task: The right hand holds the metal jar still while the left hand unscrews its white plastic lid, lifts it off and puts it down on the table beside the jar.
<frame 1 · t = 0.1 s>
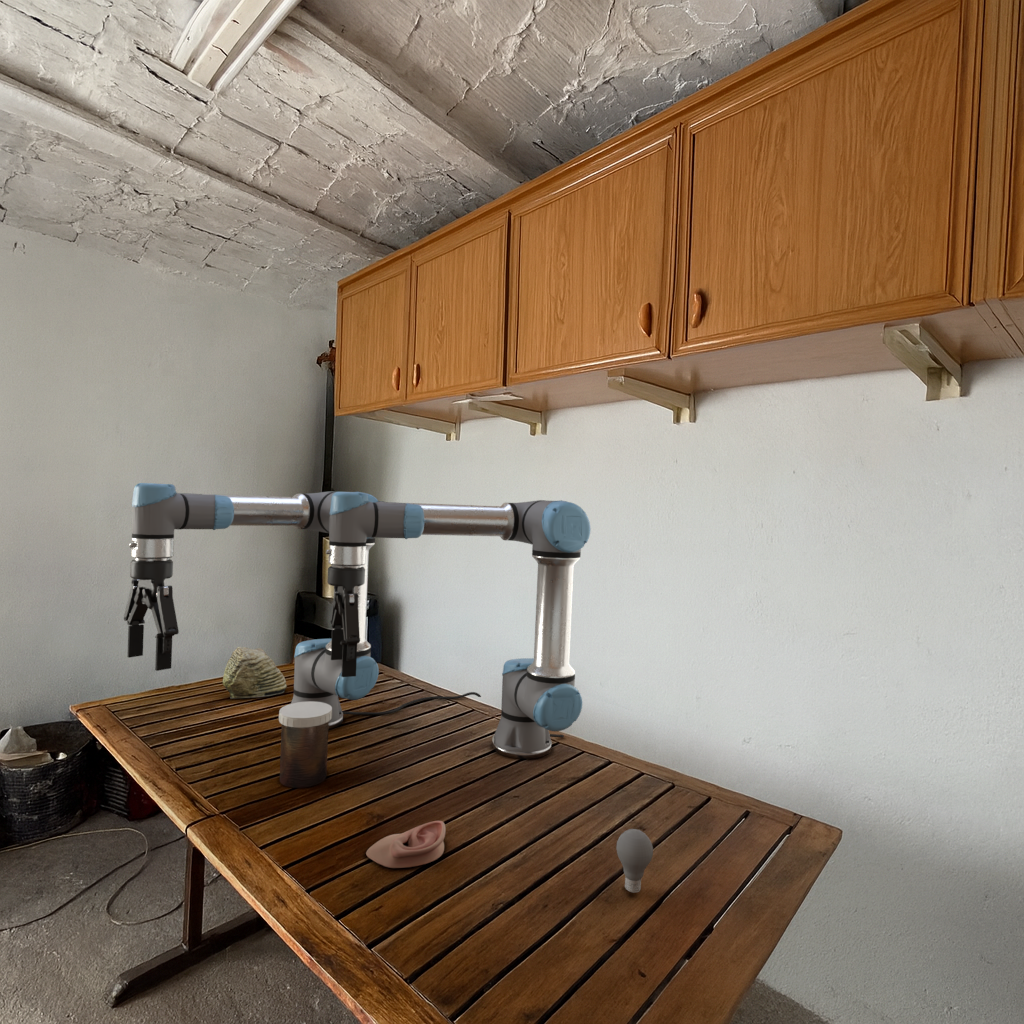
left hand: (148, 662, 129), 28 cm above the table, tool pointing down, fingers open, 13 cm apart
right hand: (342, 667, 132), 28 cm above the table, tool pointing down, fingers open, 13 cm apart
lid: (305, 710, 142), point 15 cm above the table, screwed on, not yet turned
fossil: (254, 694, 198), on the table
anatomical model: (406, 852, 114), on the table
jar: (303, 777, 142), on the table
light bulb: (632, 891, 106), on the table
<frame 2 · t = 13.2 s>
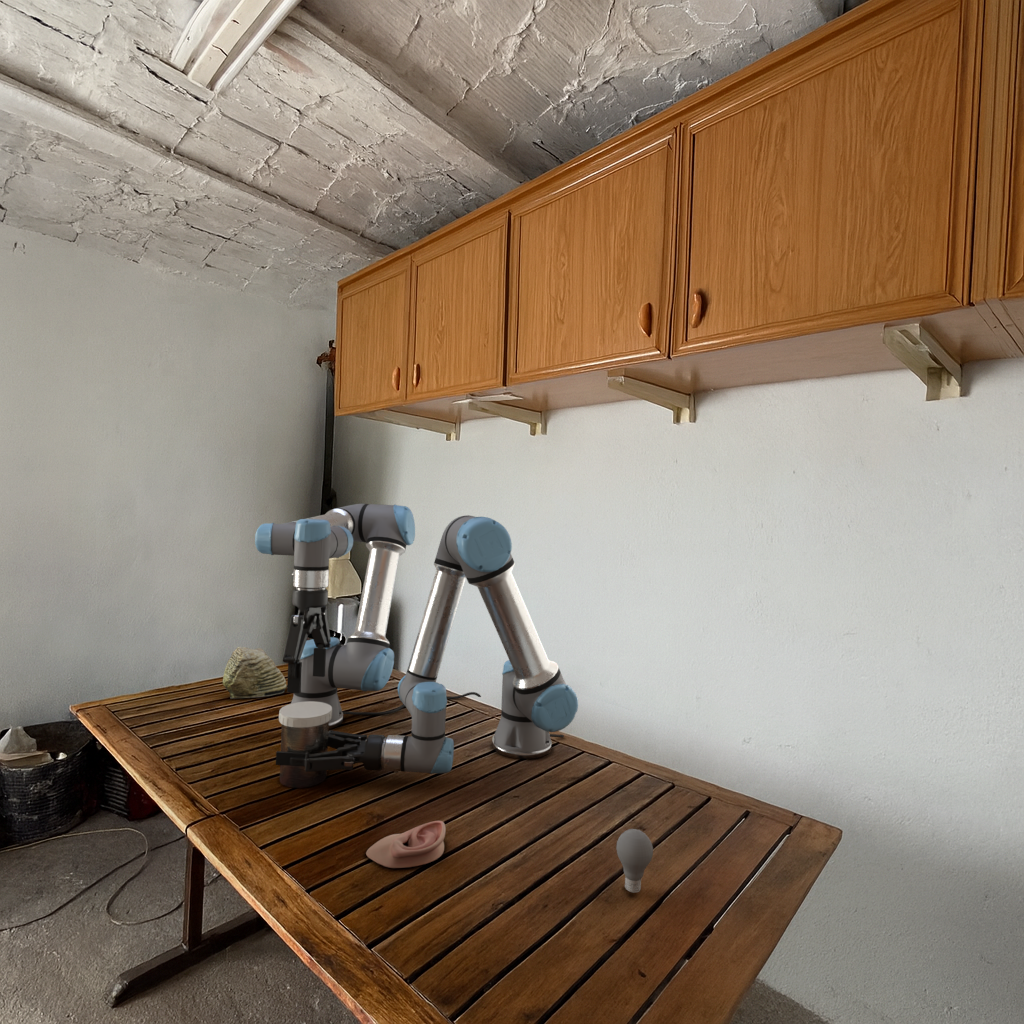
left hand: (306, 684, 142), 21 cm above the table, tool pointing down, fingers open, 12 cm apart
right hand: (285, 748, 142), 7 cm above the table, tool horizontal, fingers closed on jar, 10 cm apart
jar: (303, 777, 142), on the table, touching right hand
everything else where it was.
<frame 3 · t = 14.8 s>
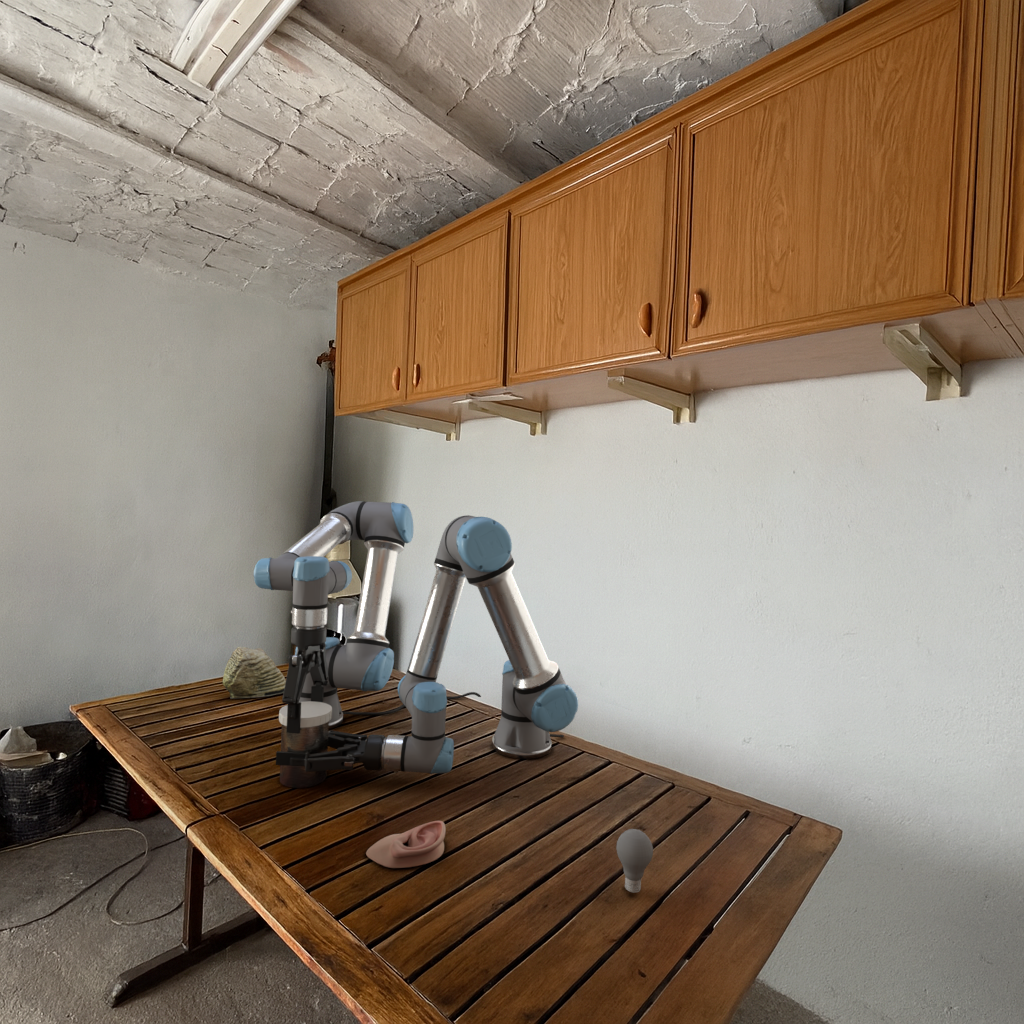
left hand: (305, 723, 142), 12 cm above the table, tool pointing down, fingers closed on lid, 11 cm apart
right hand: (285, 748, 142), 7 cm above the table, tool horizontal, fingers closed on jar, 10 cm apart
lid: (305, 710, 142), point 15 cm above the table, screwed on, not yet turned, touching left hand
jar: (303, 777, 142), on the table, touching right hand
everything else where it was.
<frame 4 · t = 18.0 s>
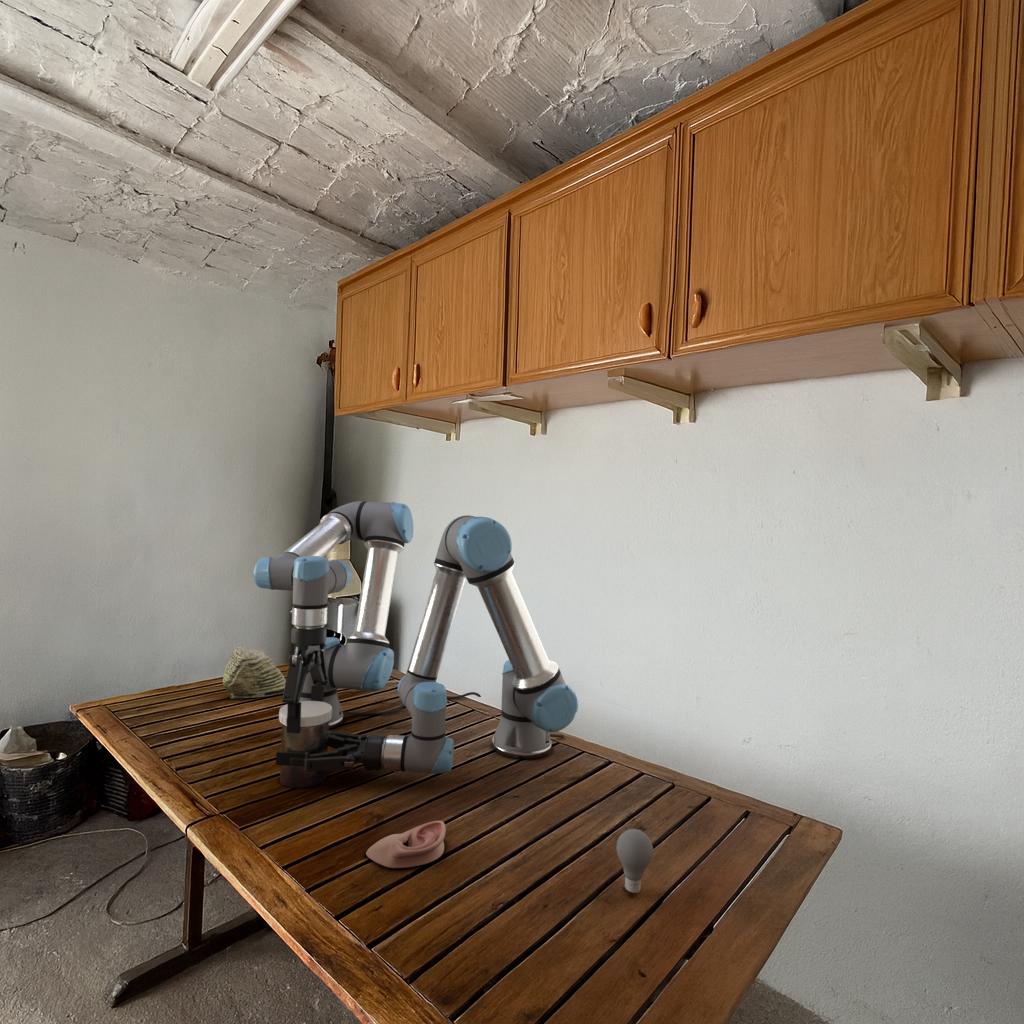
left hand: (305, 722, 142), 12 cm above the table, tool pointing down, fingers closed on lid, 11 cm apart
right hand: (285, 748, 142), 7 cm above the table, tool horizontal, fingers closed on jar, 10 cm apart
lid: (306, 710, 142), point 15 cm above the table, turned 87° so far, risen 0.1 cm, still on its thread, touching left hand
jar: (303, 777, 142), on the table, touching right hand
everything else where it was.
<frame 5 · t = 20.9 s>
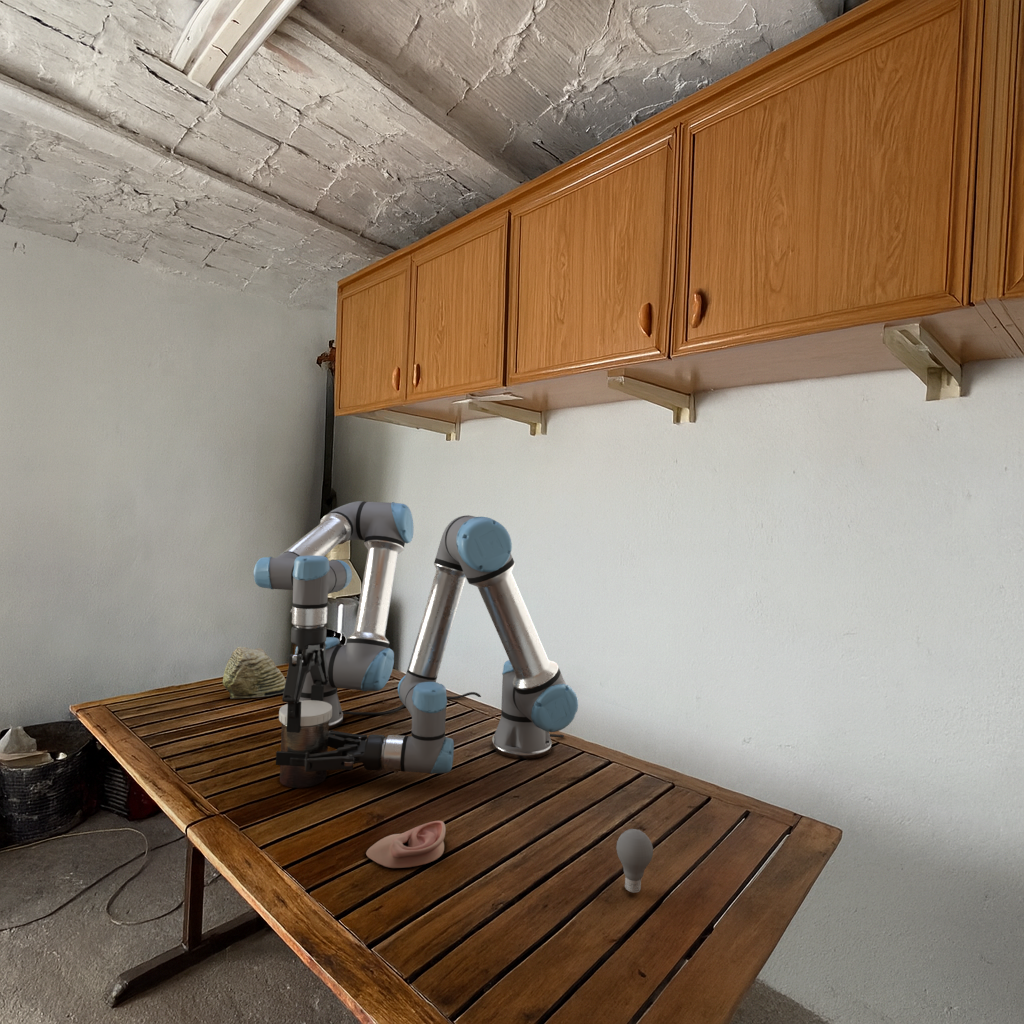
left hand: (305, 722, 142), 13 cm above the table, tool pointing down, fingers closed on lid, 11 cm apart
right hand: (285, 748, 142), 6 cm above the table, tool horizontal, fingers closed on jar, 10 cm apart
lid: (306, 709, 142), point 15 cm above the table, turned 174° so far, risen 0.3 cm, still on its thread, touching left hand
jar: (303, 777, 142), on the table, touching right hand
everything else where it was.
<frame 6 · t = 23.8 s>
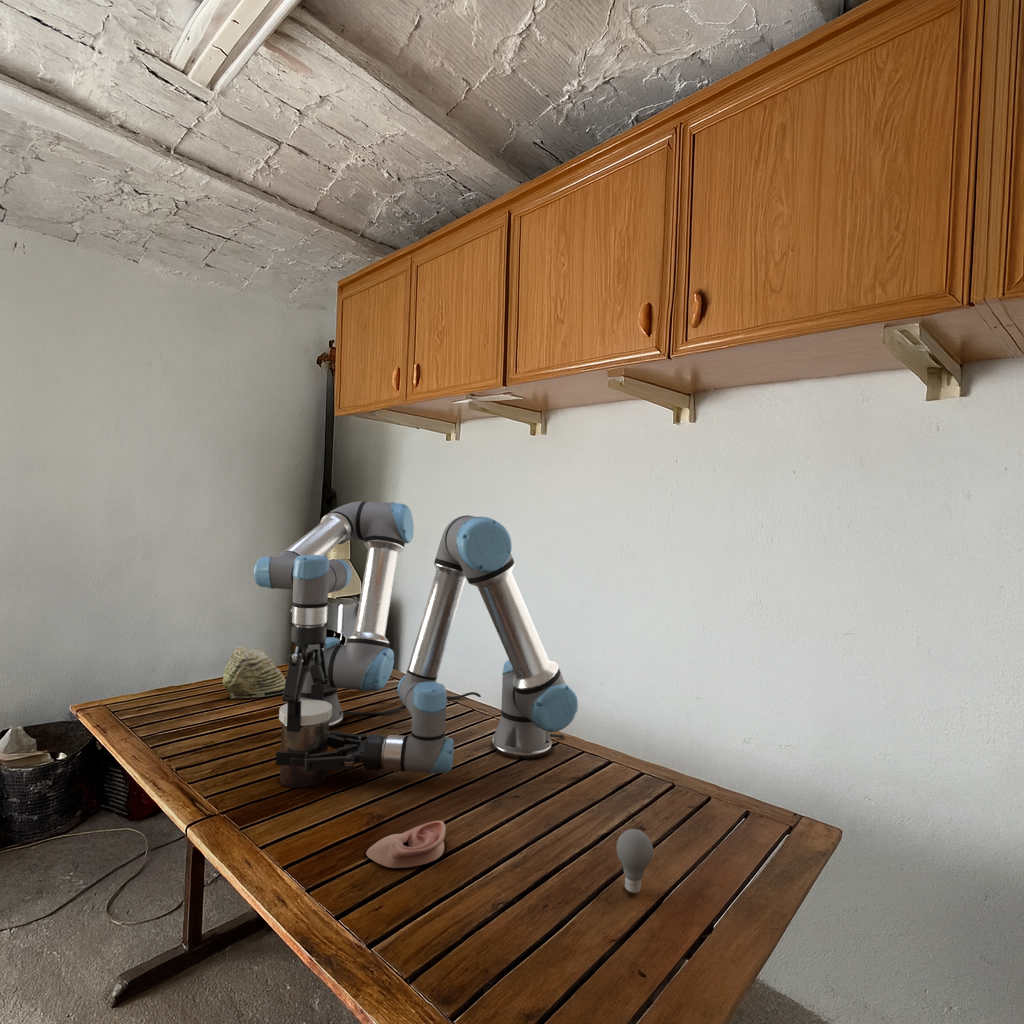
left hand: (305, 721, 142), 13 cm above the table, tool pointing down, fingers closed on lid, 11 cm apart
right hand: (285, 748, 142), 6 cm above the table, tool horizontal, fingers closed on jar, 10 cm apart
lid: (306, 709, 142), point 16 cm above the table, turned 260° so far, risen 0.4 cm, still on its thread, touching left hand
jar: (303, 777, 142), on the table, touching right hand
everything else where it was.
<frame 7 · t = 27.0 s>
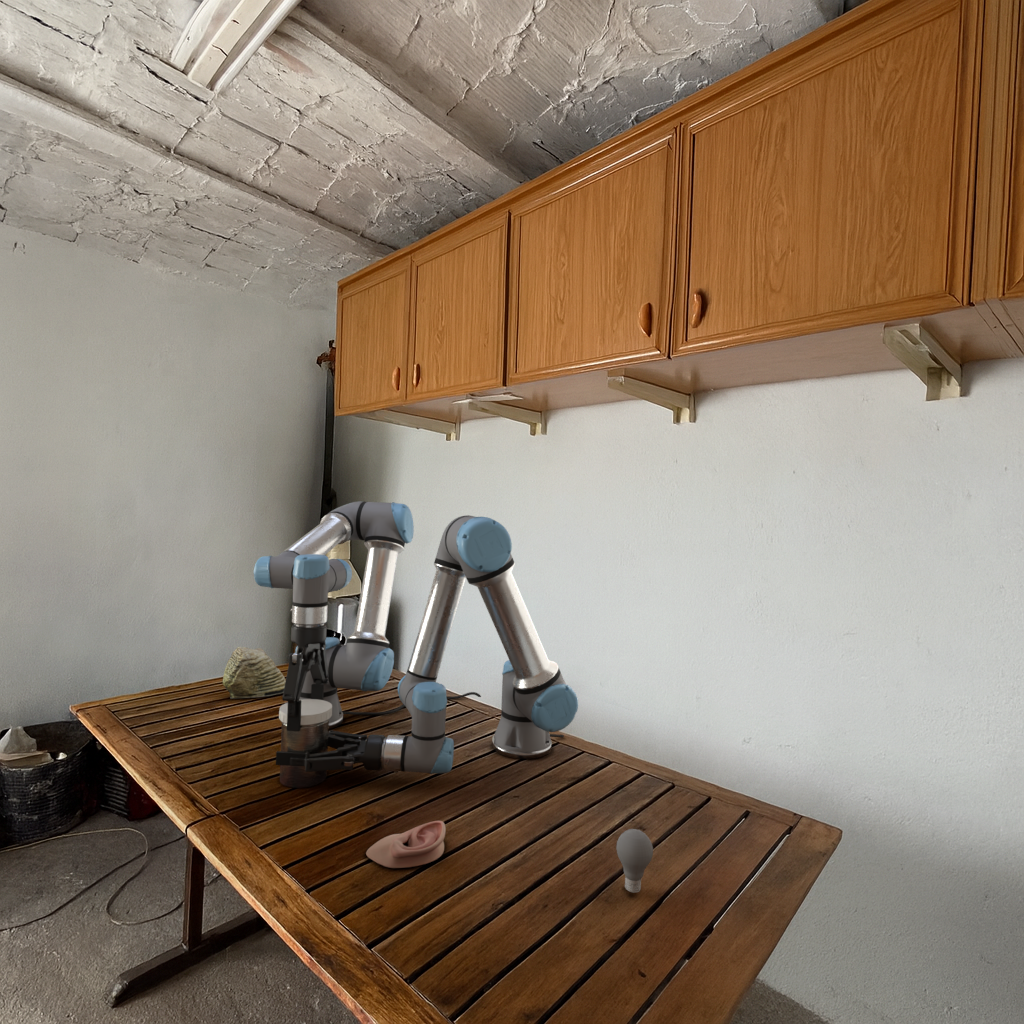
left hand: (305, 721, 142), 13 cm above the table, tool pointing down, fingers closed on lid, 11 cm apart
right hand: (285, 748, 142), 6 cm above the table, tool horizontal, fingers closed on jar, 10 cm apart
lid: (306, 708, 142), point 16 cm above the table, turned 347° so far, risen 0.5 cm, still on its thread, touching left hand
jar: (303, 777, 142), on the table, touching right hand
everything else where it was.
when the left hand's fingers open (1 cm above the table, at t = 33.8 s): lid drops 2 cm, point 2 cm above the table.
when the right hand's fingers open (7 cm above the table, at t = 34.8 s): jar stays where it is, on the table.
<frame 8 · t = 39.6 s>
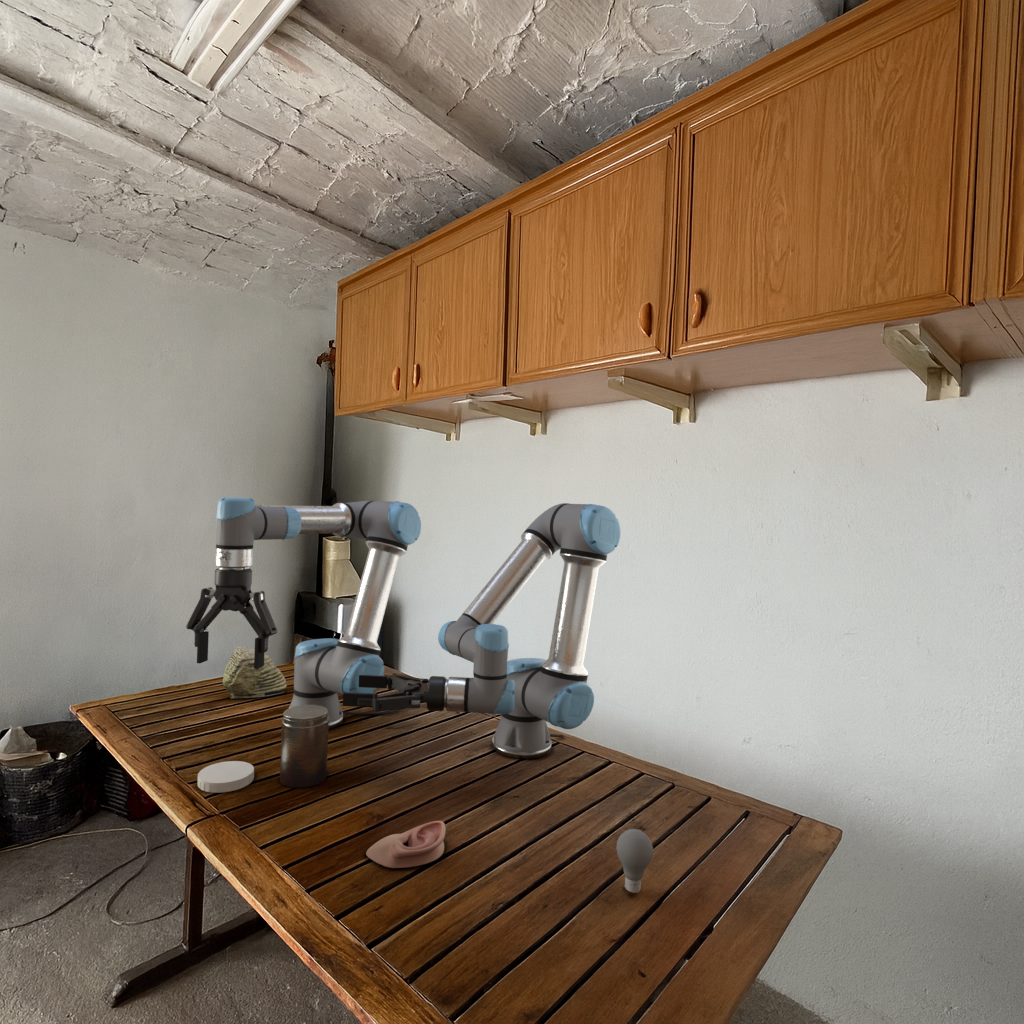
left hand: (230, 664, 139), 26 cm above the table, tool pointing down, fingers open, 13 cm apart
right hand: (351, 689, 142), 20 cm above the table, tool horizontal, fingers open, 13 cm apart
lid: (226, 773, 139), point 2 cm above the table, off its thread
jar: (303, 777, 142), on the table
everything else where it was.
at the end: lid came off its thread; lid point 1.8 cm above the table; the left hand is holding nothing; the right hand is holding nothing; jar tilted 0°; jar moved 0.0 cm from its start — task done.
